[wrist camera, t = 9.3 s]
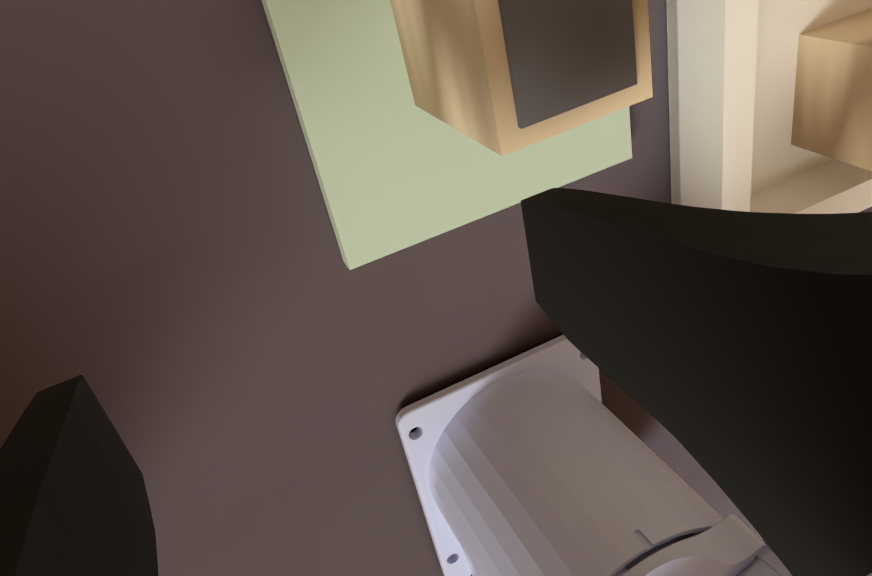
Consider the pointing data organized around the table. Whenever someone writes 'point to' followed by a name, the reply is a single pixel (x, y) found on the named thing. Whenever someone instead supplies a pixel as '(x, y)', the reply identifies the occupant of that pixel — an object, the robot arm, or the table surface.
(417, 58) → the labelled block
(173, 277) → the table surface
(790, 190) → the tray
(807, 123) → the plain block
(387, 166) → the pad
